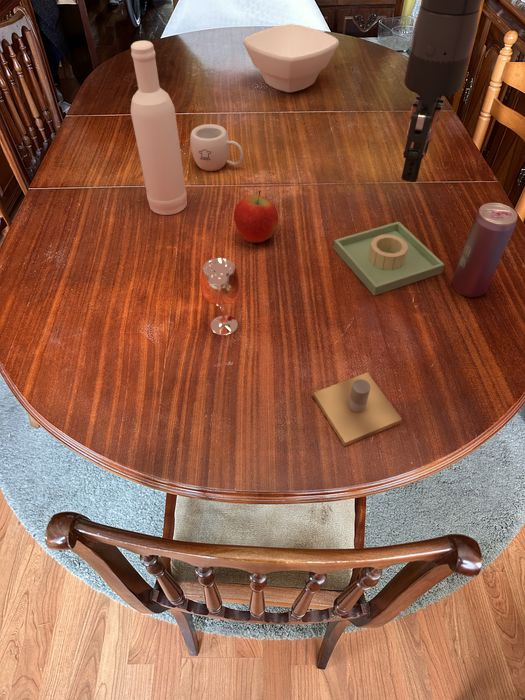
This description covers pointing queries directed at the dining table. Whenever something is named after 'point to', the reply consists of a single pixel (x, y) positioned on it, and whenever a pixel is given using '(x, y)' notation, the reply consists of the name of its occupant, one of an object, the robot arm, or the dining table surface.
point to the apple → (256, 218)
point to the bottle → (156, 135)
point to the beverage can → (484, 249)
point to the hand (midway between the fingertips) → (414, 166)
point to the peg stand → (356, 408)
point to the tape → (388, 259)
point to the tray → (377, 280)
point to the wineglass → (221, 291)
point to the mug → (212, 147)
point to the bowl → (290, 55)
